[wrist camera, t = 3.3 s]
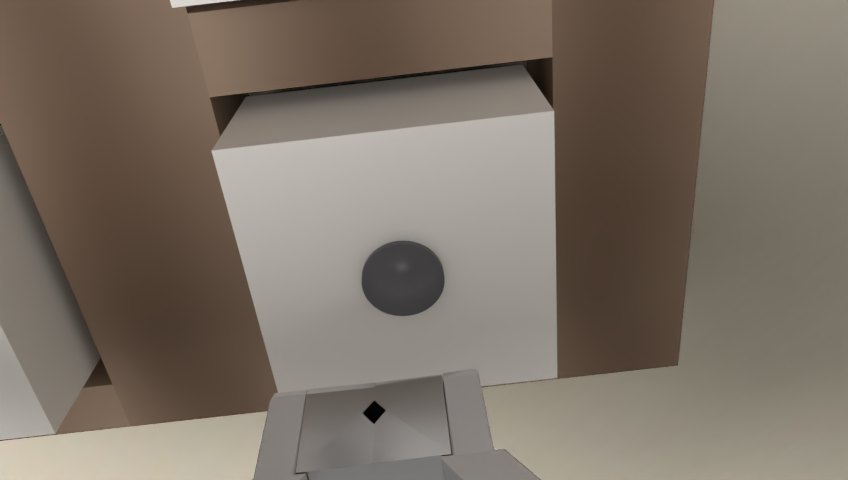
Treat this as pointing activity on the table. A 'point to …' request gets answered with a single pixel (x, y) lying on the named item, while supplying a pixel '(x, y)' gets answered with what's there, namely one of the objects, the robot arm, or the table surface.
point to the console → (320, 64)
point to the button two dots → (35, 317)
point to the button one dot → (398, 227)
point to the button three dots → (193, 2)
